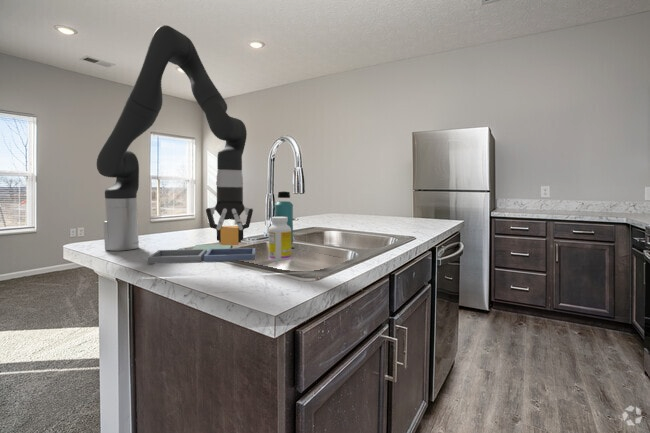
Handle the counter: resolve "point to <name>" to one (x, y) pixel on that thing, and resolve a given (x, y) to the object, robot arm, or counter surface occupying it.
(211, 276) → the counter surface
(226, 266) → the counter surface
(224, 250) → the navy tray
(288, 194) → the beverage bottle
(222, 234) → the orange cube
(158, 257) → the grey tray
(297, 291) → the counter surface
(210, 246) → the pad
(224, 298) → the counter surface
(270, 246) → the supplement bottle
